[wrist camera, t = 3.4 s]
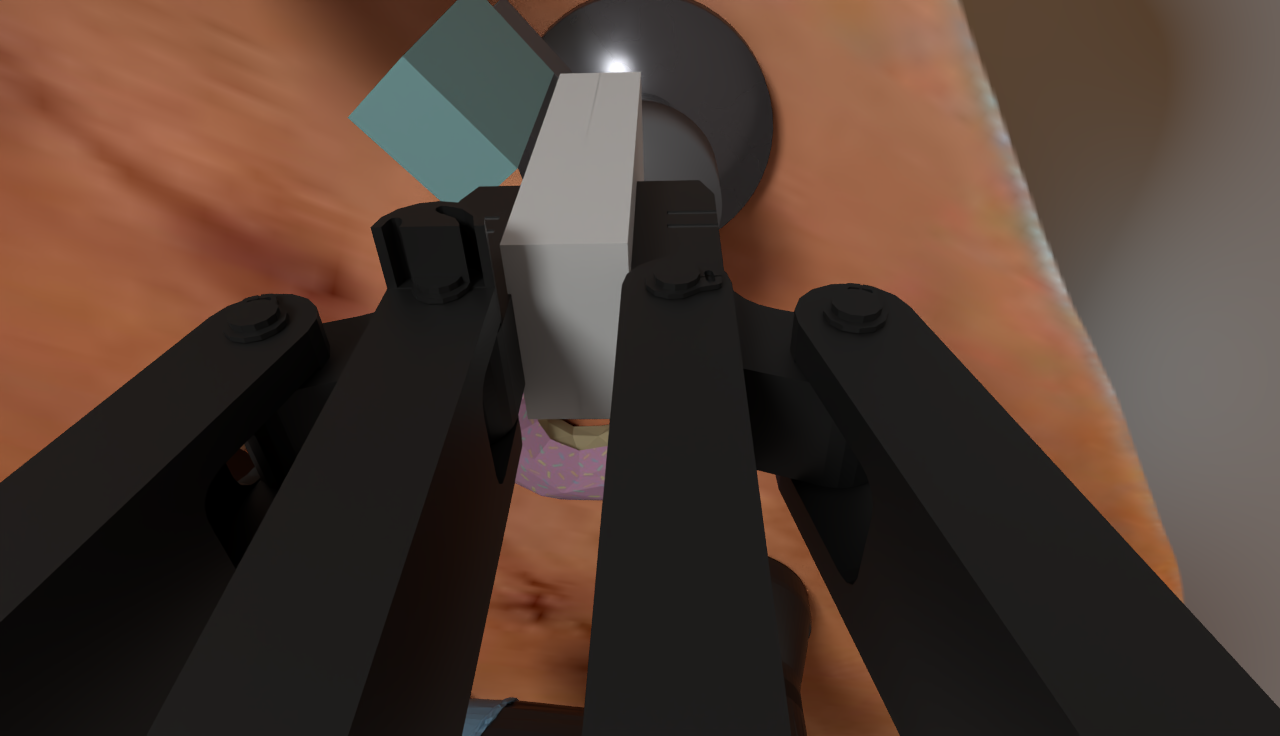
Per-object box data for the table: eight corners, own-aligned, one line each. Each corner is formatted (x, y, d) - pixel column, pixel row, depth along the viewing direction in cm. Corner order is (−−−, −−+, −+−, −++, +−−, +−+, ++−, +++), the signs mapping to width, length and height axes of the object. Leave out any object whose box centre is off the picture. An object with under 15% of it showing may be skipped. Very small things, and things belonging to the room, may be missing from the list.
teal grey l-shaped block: (749, 186, 33) (782, 335, 24) (632, 276, 36) (622, 439, 27) (527, -76, 28) (460, -10, 18) (408, 57, 30) (300, 170, 21)
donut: (450, 432, 52) (432, 485, 48) (493, 244, 43) (476, 290, 39) (663, 484, 54) (663, 539, 50) (745, 317, 46) (753, 368, 42)
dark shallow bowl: (820, 141, 39) (843, 190, 34) (589, 317, 45) (580, 378, 41) (654, -79, 33) (652, -57, 28) (417, 161, 40) (384, 211, 35)
